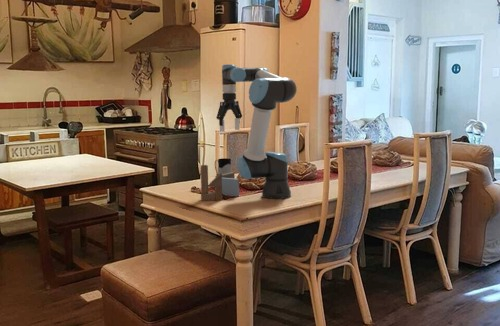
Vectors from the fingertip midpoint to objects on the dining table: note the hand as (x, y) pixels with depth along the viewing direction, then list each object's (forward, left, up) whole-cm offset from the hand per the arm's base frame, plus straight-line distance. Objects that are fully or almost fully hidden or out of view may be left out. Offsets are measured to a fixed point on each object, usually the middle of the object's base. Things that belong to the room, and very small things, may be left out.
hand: (229, 130), depth 294 cm
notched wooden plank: (-5, +11, -33) cm, 35 cm away
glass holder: (+12, -7, -33) cm, 36 cm away
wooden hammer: (-11, +30, -33) cm, 46 cm away
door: (-12, +17, -32) cm, 38 cm away
